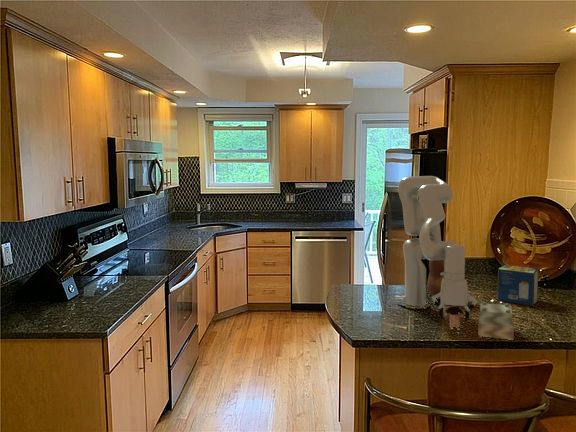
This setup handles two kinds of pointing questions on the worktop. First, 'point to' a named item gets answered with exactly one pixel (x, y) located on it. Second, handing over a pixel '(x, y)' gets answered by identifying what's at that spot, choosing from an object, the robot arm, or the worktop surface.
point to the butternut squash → (435, 276)
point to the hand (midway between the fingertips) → (453, 318)
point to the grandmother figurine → (454, 315)
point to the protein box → (518, 285)
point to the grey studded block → (496, 321)
